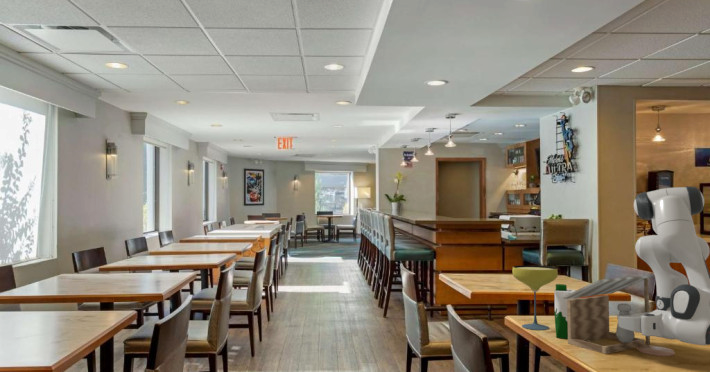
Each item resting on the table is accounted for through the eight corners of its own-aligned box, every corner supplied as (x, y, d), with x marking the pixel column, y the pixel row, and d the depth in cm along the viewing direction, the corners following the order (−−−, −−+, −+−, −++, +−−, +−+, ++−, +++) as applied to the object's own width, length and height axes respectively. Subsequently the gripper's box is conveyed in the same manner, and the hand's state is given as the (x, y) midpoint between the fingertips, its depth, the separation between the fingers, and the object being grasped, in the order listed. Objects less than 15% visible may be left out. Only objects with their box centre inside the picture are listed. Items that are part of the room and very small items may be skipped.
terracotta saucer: (657, 347, 183) (657, 344, 183) (682, 355, 172) (682, 353, 172) (630, 348, 181) (630, 346, 181) (653, 357, 170) (653, 354, 170)
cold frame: (611, 335, 199) (610, 270, 200) (651, 345, 185) (649, 275, 186) (562, 344, 186) (561, 274, 187) (601, 355, 172) (599, 280, 173)
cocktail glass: (509, 322, 223) (508, 265, 225) (551, 323, 222) (550, 265, 223) (518, 331, 205) (517, 269, 207) (564, 332, 204) (563, 270, 205)
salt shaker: (637, 343, 175) (635, 305, 176) (619, 342, 176) (618, 305, 177) (631, 339, 181) (630, 302, 182) (613, 339, 182) (612, 302, 183)
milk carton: (557, 333, 203) (556, 283, 204) (582, 336, 198) (581, 284, 199) (553, 338, 195) (552, 285, 196) (578, 341, 190) (577, 287, 192)
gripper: (679, 311, 173) (640, 305, 185) (642, 316, 163) (603, 309, 176) (680, 330, 173) (640, 322, 185) (643, 336, 163) (604, 328, 175)
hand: (622, 316), depth 180 cm, fingers closed on salt shaker, 3 cm apart
